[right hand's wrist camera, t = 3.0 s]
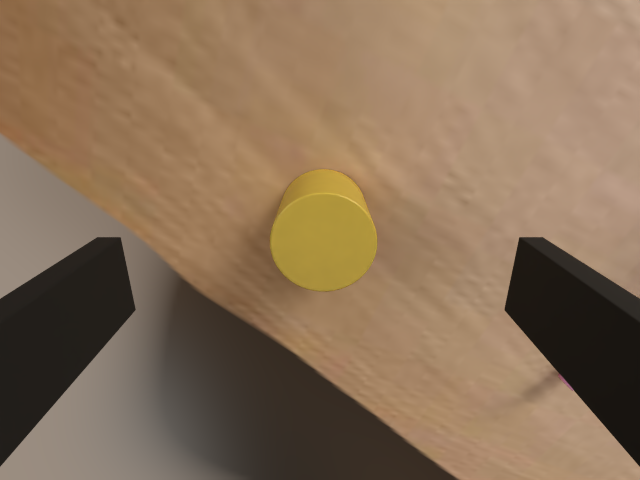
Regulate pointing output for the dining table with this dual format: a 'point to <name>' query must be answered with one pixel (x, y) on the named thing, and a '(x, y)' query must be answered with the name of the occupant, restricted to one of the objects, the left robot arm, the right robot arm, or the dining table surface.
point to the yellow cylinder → (323, 232)
